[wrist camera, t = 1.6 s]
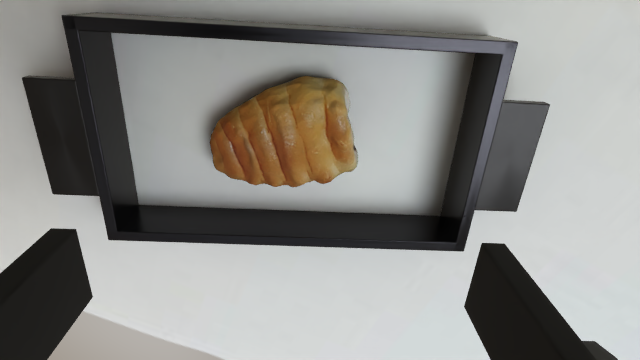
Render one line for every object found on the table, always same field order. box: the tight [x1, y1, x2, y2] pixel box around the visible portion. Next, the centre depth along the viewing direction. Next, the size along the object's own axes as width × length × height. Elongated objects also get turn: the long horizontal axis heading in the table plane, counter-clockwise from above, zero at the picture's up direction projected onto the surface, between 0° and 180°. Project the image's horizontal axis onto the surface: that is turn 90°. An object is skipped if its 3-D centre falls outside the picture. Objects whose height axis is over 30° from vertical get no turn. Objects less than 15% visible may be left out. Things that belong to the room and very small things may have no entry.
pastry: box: [210, 76, 358, 187], centre depth 24 cm, size 9×7×4 cm
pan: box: [22, 12, 550, 251], centre depth 24 cm, size 29×13×4 cm, turn 87°
